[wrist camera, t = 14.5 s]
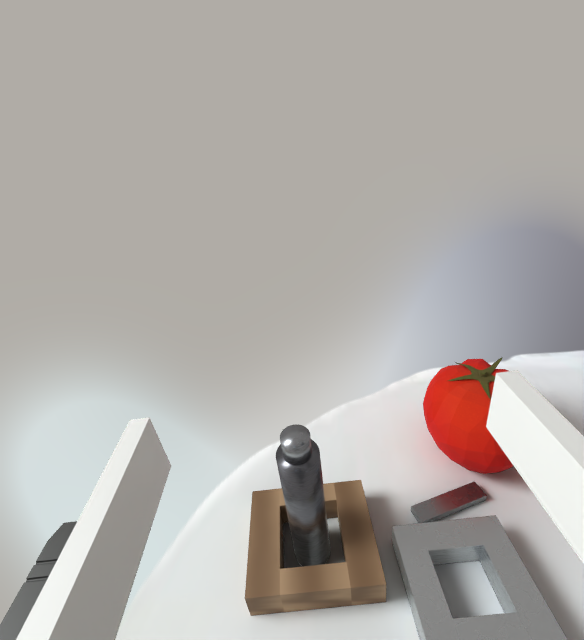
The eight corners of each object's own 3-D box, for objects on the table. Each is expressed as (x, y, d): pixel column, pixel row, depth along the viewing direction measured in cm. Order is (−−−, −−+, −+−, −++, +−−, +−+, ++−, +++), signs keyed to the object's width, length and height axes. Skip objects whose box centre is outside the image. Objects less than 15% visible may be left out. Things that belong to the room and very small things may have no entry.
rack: (361, 497, 39) (360, 479, 38) (385, 602, 30) (386, 584, 29) (256, 508, 39) (252, 491, 38) (250, 615, 31) (244, 598, 29)
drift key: (473, 486, 39) (474, 481, 38) (485, 500, 37) (486, 495, 37) (411, 510, 37) (411, 506, 37) (421, 526, 36) (421, 521, 35)
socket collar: (491, 530, 34) (495, 515, 33) (565, 665, 26) (574, 651, 24) (391, 540, 35) (392, 526, 33) (430, 678, 26) (433, 665, 25)
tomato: (519, 419, 46) (538, 347, 41) (542, 510, 36) (571, 429, 30) (422, 404, 51) (428, 337, 45) (417, 481, 40) (423, 406, 35)
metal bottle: (327, 530, 36) (315, 417, 29) (332, 567, 33) (319, 451, 26) (293, 533, 36) (272, 421, 29) (295, 571, 33) (272, 456, 26)
